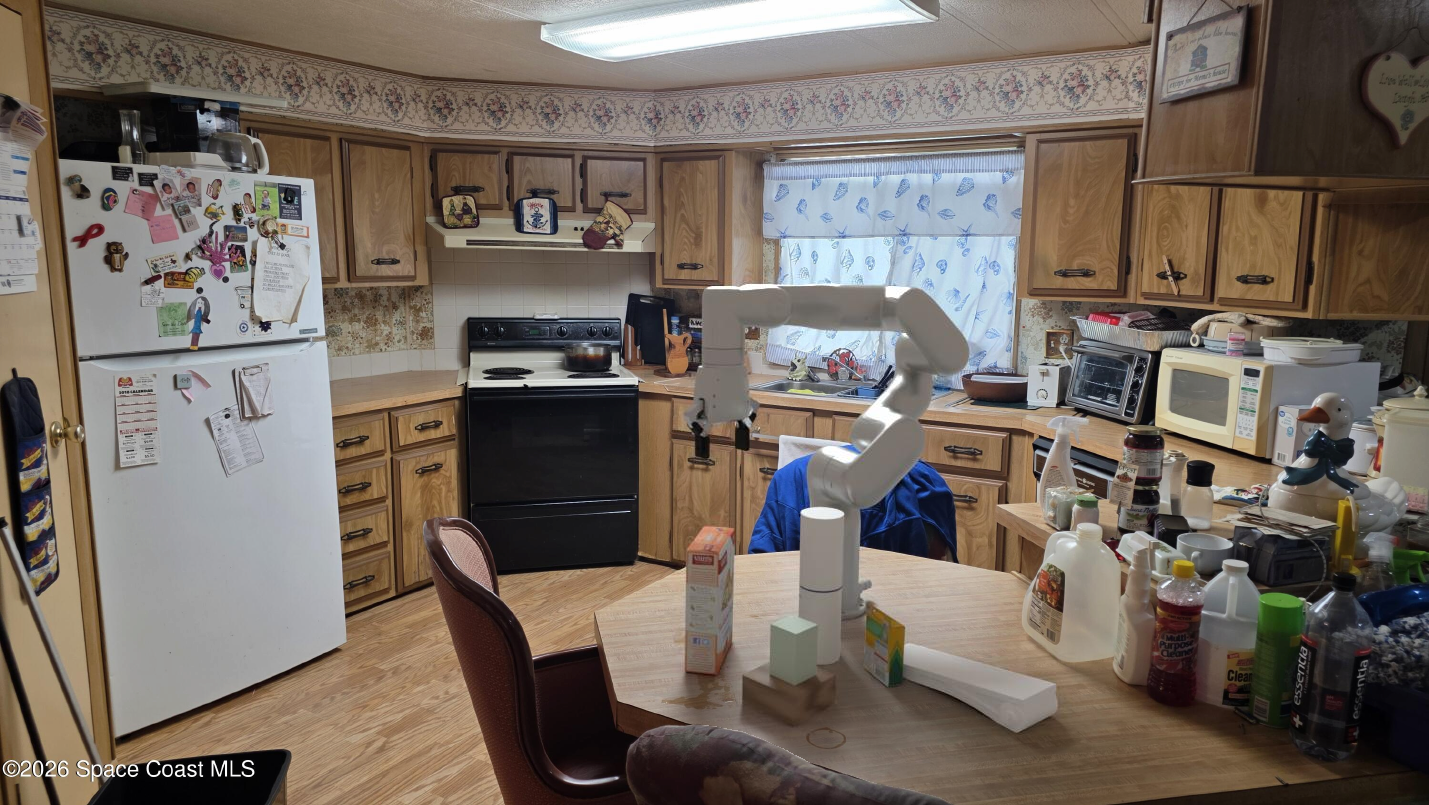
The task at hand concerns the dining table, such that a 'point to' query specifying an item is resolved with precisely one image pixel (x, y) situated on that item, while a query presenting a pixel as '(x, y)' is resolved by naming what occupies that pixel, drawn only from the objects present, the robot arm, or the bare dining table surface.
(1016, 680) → the white arched block
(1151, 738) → the dining table surface
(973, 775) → the dining table surface
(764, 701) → the walnut block
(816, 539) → the cylindrical container
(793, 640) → the sage block
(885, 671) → the crayon box
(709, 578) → the cracker box
